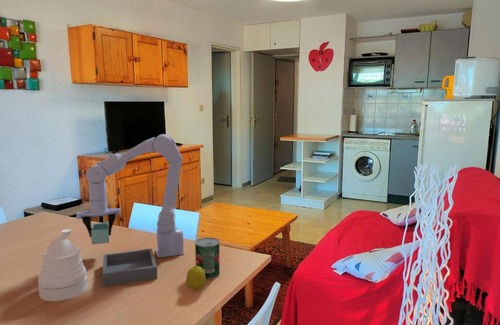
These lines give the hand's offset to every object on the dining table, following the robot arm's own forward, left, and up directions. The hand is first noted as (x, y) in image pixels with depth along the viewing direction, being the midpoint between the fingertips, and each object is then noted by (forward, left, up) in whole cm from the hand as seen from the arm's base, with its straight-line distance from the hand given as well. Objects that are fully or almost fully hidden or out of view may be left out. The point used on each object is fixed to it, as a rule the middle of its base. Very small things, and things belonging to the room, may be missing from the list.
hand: (100, 235), depth 133 cm
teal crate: (0, 0, -2) cm, 2 cm away
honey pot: (+10, +22, -8) cm, 26 cm away
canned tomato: (-33, +26, -8) cm, 43 cm away
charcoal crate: (-9, +16, -8) cm, 20 cm away
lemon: (-27, +36, -8) cm, 46 cm away
